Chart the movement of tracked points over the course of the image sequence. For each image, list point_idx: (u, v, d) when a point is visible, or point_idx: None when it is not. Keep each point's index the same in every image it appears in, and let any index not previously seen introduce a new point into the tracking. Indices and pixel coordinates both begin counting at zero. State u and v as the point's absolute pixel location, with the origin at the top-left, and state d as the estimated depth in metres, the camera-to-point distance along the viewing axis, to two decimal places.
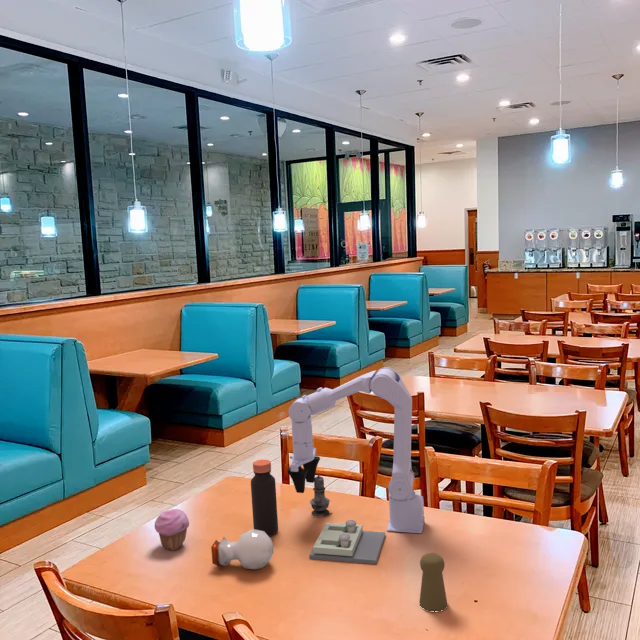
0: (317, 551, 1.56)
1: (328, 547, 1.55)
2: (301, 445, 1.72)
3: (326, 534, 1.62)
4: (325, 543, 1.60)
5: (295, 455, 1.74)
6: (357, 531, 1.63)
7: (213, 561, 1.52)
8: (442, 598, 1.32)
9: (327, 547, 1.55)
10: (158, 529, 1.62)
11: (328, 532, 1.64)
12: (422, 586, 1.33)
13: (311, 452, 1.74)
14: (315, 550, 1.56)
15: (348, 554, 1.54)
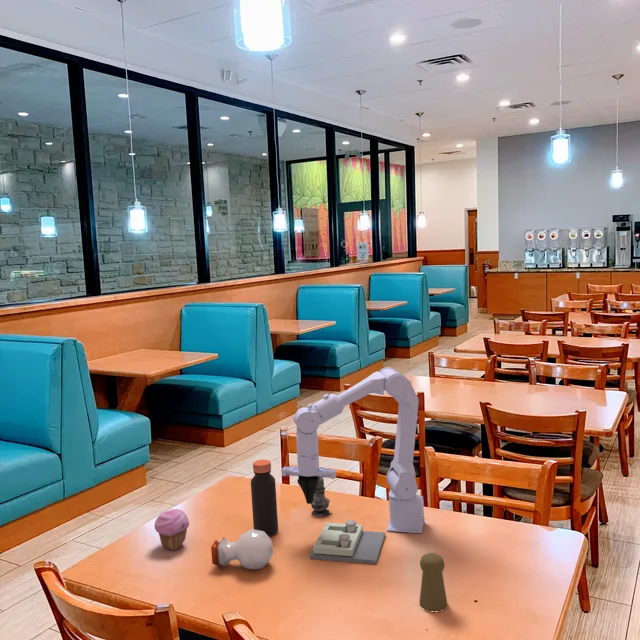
0: (317, 551, 1.56)
1: (328, 547, 1.55)
2: (297, 455, 1.64)
3: (326, 534, 1.62)
4: (325, 543, 1.60)
5: None
6: (357, 531, 1.63)
7: (213, 561, 1.52)
8: (442, 598, 1.32)
9: (327, 547, 1.55)
10: (158, 529, 1.62)
11: (328, 532, 1.64)
12: (422, 586, 1.33)
13: (303, 467, 1.62)
14: (315, 550, 1.56)
15: (348, 554, 1.54)
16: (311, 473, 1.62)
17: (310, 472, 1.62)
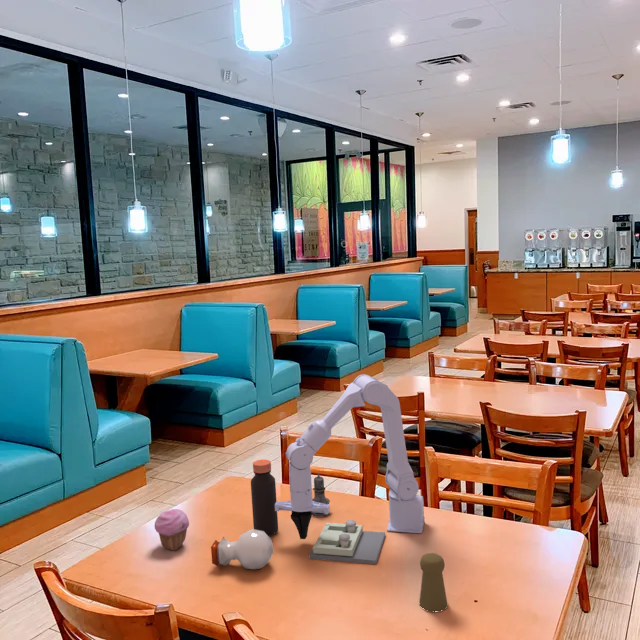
0: (317, 551, 1.56)
1: (328, 547, 1.55)
2: (290, 490, 1.62)
3: (326, 534, 1.62)
4: (325, 543, 1.60)
5: None
6: (357, 531, 1.63)
7: (213, 561, 1.52)
8: (442, 598, 1.32)
9: (327, 547, 1.55)
10: (158, 529, 1.62)
11: (328, 532, 1.64)
12: (422, 586, 1.33)
13: (296, 503, 1.60)
14: (315, 550, 1.56)
15: (348, 554, 1.54)
16: (304, 509, 1.60)
17: (303, 508, 1.60)
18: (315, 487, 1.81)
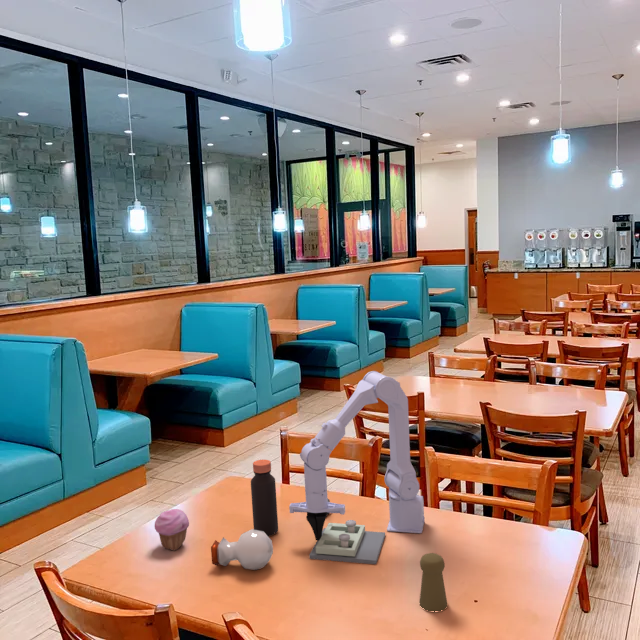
0: (319, 551, 1.56)
1: (330, 547, 1.55)
2: (305, 491, 1.61)
3: (328, 534, 1.62)
4: (327, 543, 1.59)
5: None
6: (359, 531, 1.63)
7: (213, 561, 1.52)
8: (442, 598, 1.32)
9: (329, 547, 1.55)
10: (158, 529, 1.62)
11: (330, 532, 1.63)
12: (422, 586, 1.33)
13: (312, 504, 1.59)
14: (317, 550, 1.56)
15: (351, 554, 1.54)
16: (321, 509, 1.59)
17: (320, 508, 1.59)
18: None
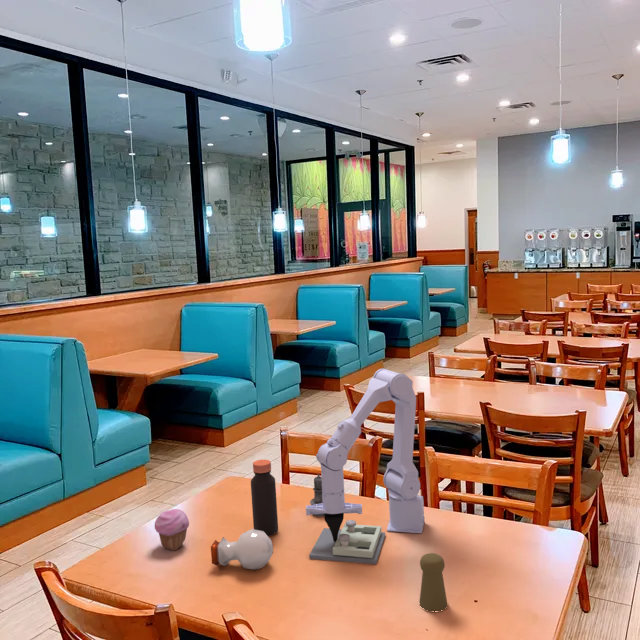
0: (337, 553, 1.55)
1: (348, 549, 1.54)
2: (322, 492, 1.60)
3: None
4: None
5: None
6: (376, 532, 1.62)
7: (212, 561, 1.52)
8: (442, 598, 1.32)
9: (347, 549, 1.54)
10: (158, 529, 1.62)
11: (347, 533, 1.62)
12: (422, 586, 1.33)
13: (330, 505, 1.58)
14: (335, 552, 1.55)
15: (368, 556, 1.52)
16: (339, 510, 1.58)
17: (338, 509, 1.58)
18: (315, 487, 1.81)
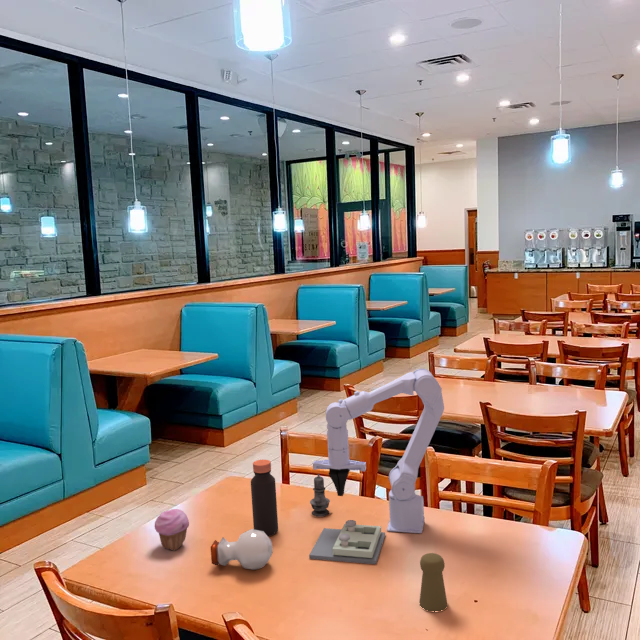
0: (336, 553, 1.55)
1: (348, 549, 1.54)
2: (328, 448, 1.69)
3: None
4: None
5: None
6: (376, 532, 1.62)
7: (212, 561, 1.52)
8: (442, 598, 1.32)
9: (347, 549, 1.54)
10: (158, 529, 1.62)
11: (347, 533, 1.62)
12: (422, 586, 1.33)
13: (334, 460, 1.67)
14: (334, 552, 1.55)
15: (368, 556, 1.53)
16: (342, 466, 1.67)
17: (341, 465, 1.67)
18: (315, 487, 1.81)
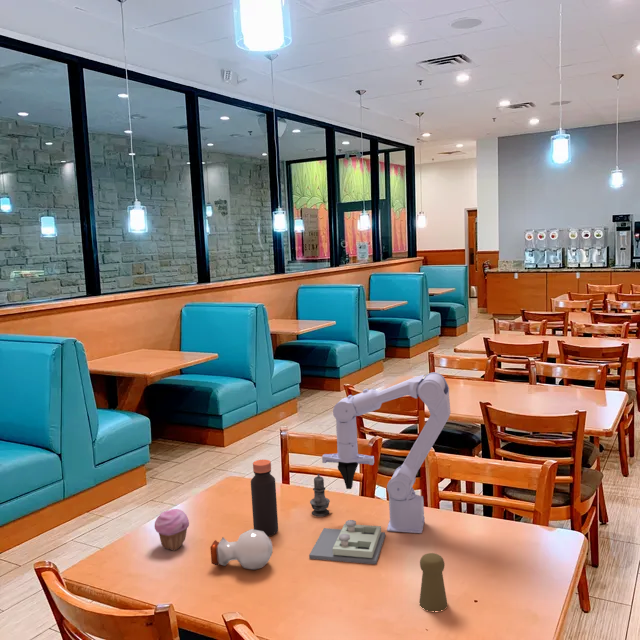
0: (336, 553, 1.55)
1: (348, 549, 1.54)
2: (337, 442, 1.73)
3: None
4: None
5: None
6: (376, 532, 1.62)
7: (212, 561, 1.52)
8: (442, 598, 1.32)
9: (347, 549, 1.54)
10: (158, 529, 1.62)
11: (347, 533, 1.62)
12: (422, 586, 1.33)
13: (343, 454, 1.71)
14: (334, 552, 1.55)
15: (368, 556, 1.53)
16: (351, 459, 1.71)
17: (350, 458, 1.71)
18: (315, 487, 1.81)
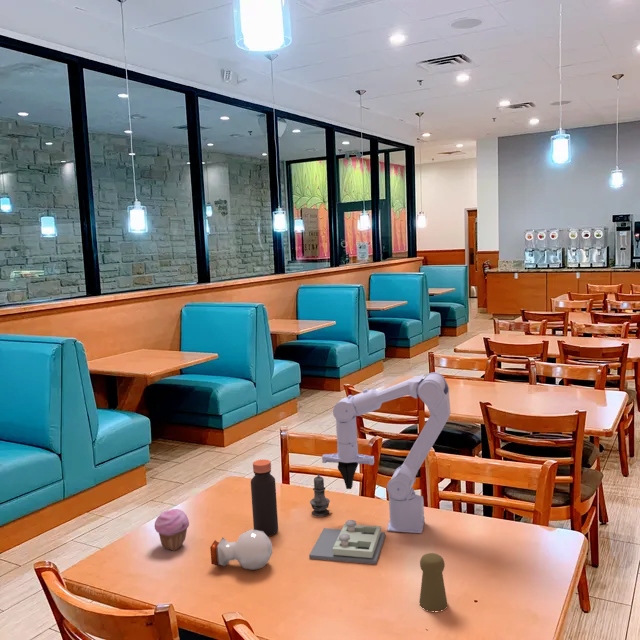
0: (336, 553, 1.55)
1: (348, 549, 1.54)
2: (337, 442, 1.73)
3: None
4: None
5: None
6: (376, 532, 1.62)
7: (212, 561, 1.52)
8: (442, 598, 1.32)
9: (347, 549, 1.54)
10: (158, 529, 1.62)
11: (347, 533, 1.62)
12: (422, 586, 1.33)
13: (343, 454, 1.71)
14: (334, 552, 1.55)
15: (368, 556, 1.53)
16: (351, 459, 1.71)
17: (350, 458, 1.71)
18: (315, 487, 1.81)
